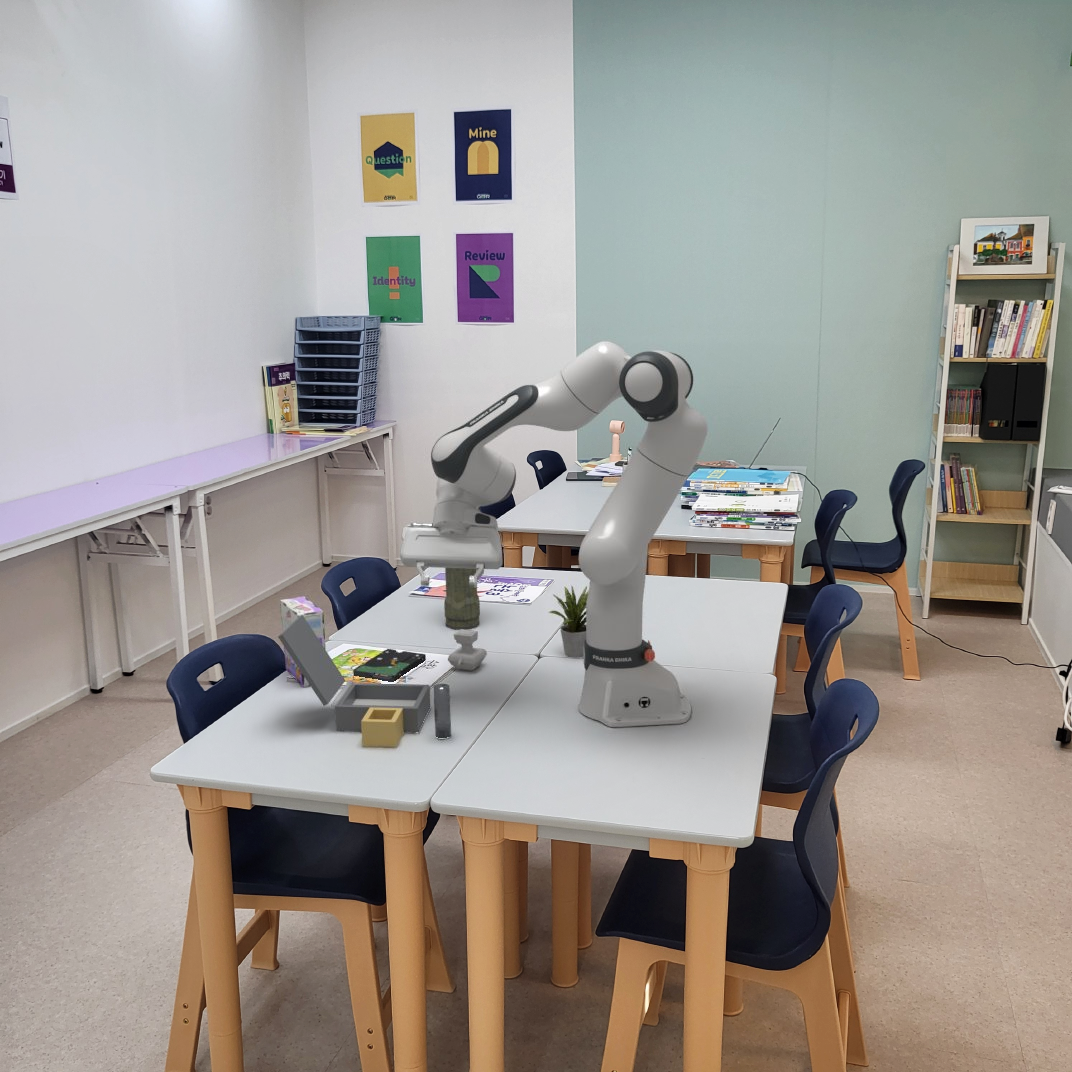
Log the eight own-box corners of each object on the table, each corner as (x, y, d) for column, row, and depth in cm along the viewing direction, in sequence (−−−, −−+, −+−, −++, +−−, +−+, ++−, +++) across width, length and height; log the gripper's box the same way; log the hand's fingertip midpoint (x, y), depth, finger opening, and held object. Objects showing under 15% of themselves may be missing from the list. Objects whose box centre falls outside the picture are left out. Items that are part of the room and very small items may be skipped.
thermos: (481, 631, 247) (477, 493, 239) (435, 628, 249) (430, 492, 241) (489, 620, 255) (486, 486, 247) (445, 618, 257) (440, 485, 249)
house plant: (597, 669, 220) (597, 599, 217) (538, 662, 225) (537, 593, 221) (613, 648, 233) (613, 581, 230) (557, 642, 238) (556, 577, 234)
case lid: (302, 614, 198) (298, 617, 199) (282, 634, 187) (277, 636, 187) (345, 680, 201) (341, 682, 201) (328, 703, 189) (323, 706, 189)
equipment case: (430, 707, 201) (429, 681, 199) (418, 732, 189) (417, 705, 188) (348, 705, 202) (347, 680, 201) (331, 730, 190) (330, 703, 189)
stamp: (472, 676, 217) (471, 640, 215) (445, 672, 220) (444, 636, 218) (489, 662, 225) (488, 627, 223) (463, 659, 228) (462, 624, 226)
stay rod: (452, 732, 189) (450, 683, 187) (449, 739, 186) (448, 689, 184) (437, 732, 189) (435, 683, 187) (434, 739, 186) (432, 689, 184)
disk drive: (387, 659, 230) (352, 681, 216) (386, 648, 229) (352, 669, 216) (426, 665, 226) (394, 687, 213) (426, 653, 226) (393, 675, 212)
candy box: (329, 683, 214) (324, 610, 211) (302, 688, 212) (297, 615, 208) (309, 663, 226) (305, 594, 222) (284, 668, 223) (279, 598, 220)
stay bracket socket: (404, 732, 189) (402, 708, 188) (396, 747, 183) (395, 722, 182) (371, 731, 190) (369, 707, 189) (362, 746, 184) (361, 721, 182)
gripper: (401, 514, 197) (393, 576, 190) (503, 517, 197) (499, 579, 190) (405, 531, 203) (397, 591, 196) (505, 534, 202) (501, 594, 195)
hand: (448, 585), depth 193 cm, fingers open, 8 cm apart
